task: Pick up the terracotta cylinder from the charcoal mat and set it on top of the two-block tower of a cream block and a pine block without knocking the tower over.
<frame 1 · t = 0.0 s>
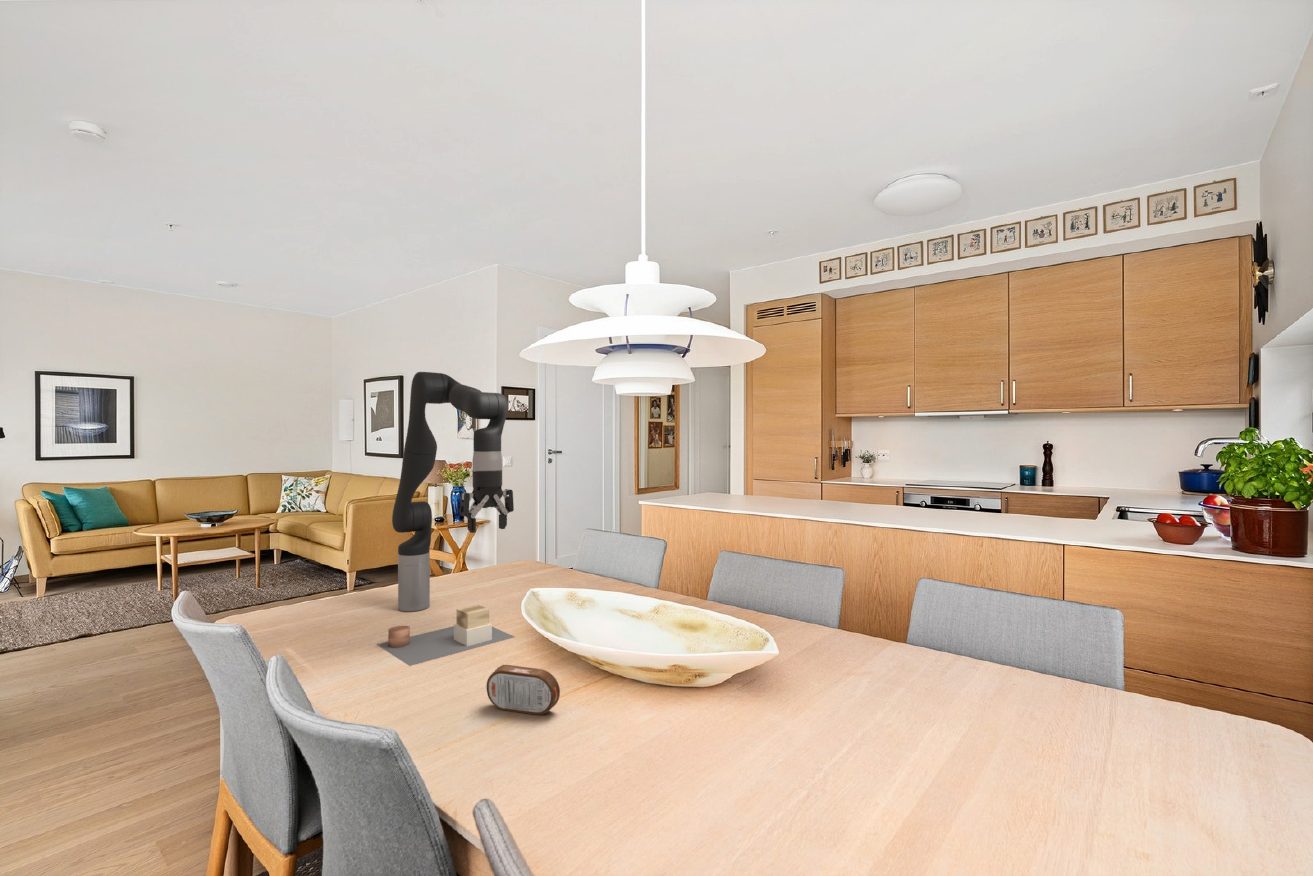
hand: (487, 530, 157), 29 cm above the table, fingers open, 8 cm apart
terracotta cylinder: (399, 644, 153), point 1 cm above the table, touching mat
mat: (447, 644, 155), on the table
tower base block: (472, 639, 156), point 1 cm above the table, touching mat, tower top block
tin: (522, 712, 118), on the table
tower top block: (472, 624, 156), point 5 cm above the table, touching tower base block
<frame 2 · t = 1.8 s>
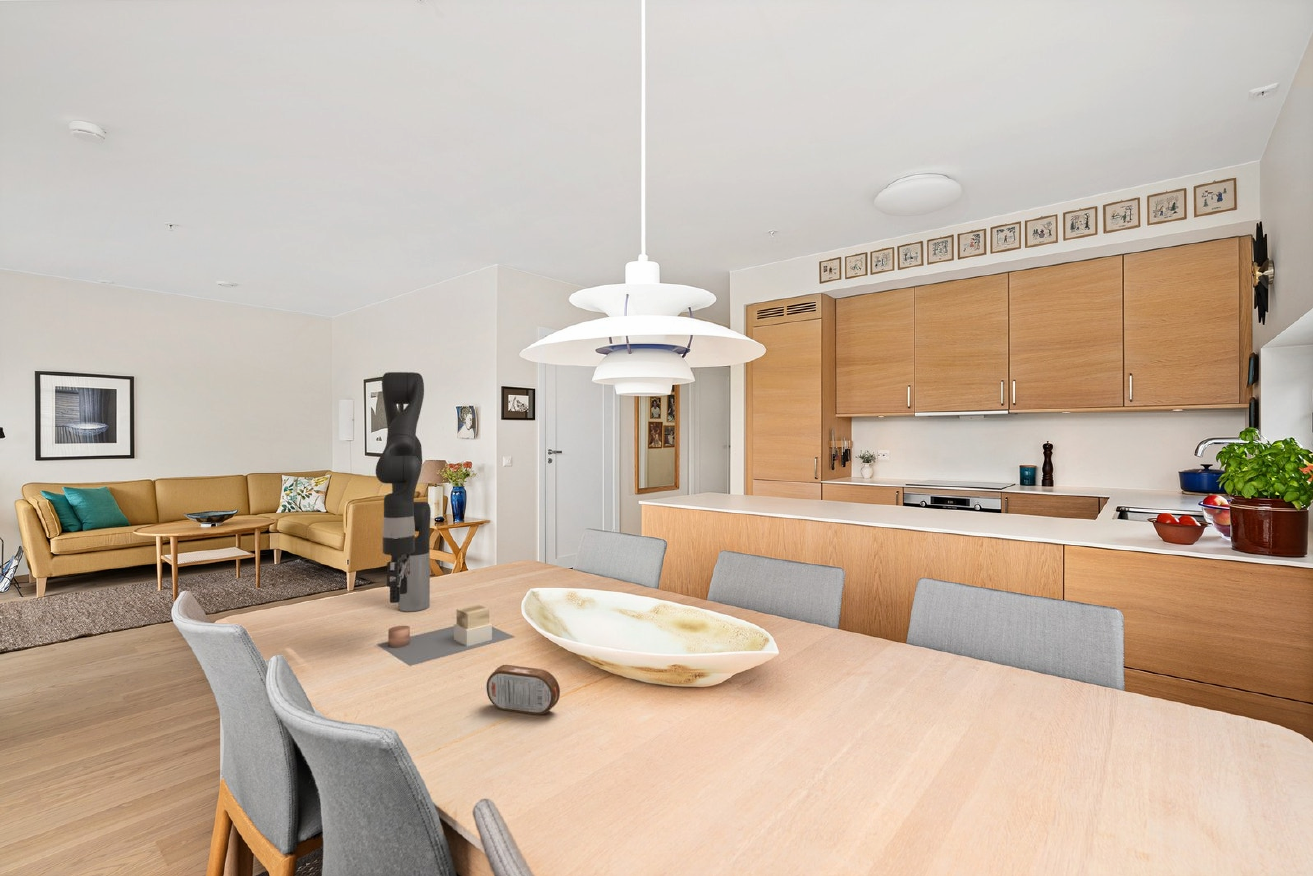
hand: (398, 598, 152), 13 cm above the table, fingers open, 8 cm apart
nothing on the table moved.
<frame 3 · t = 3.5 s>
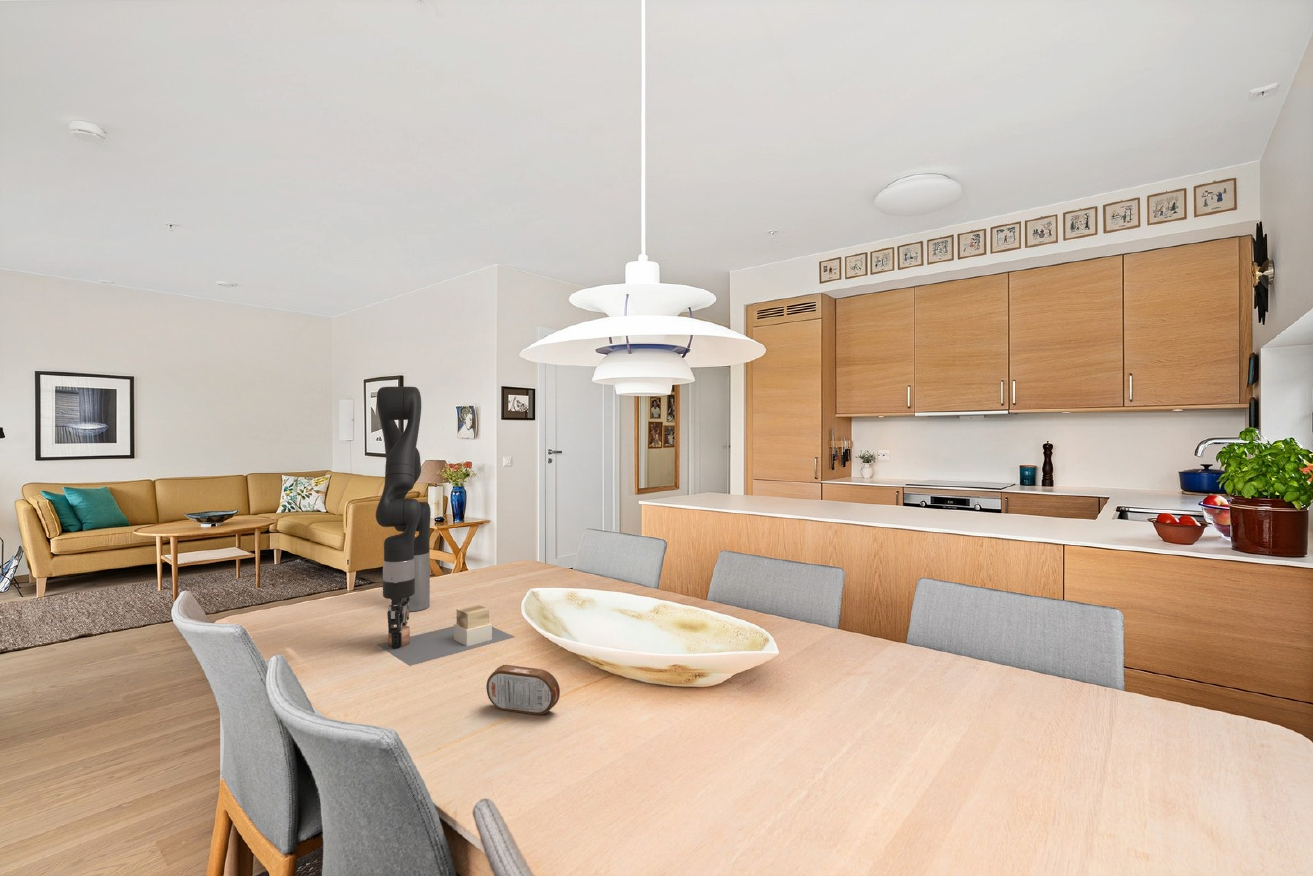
hand: (399, 643, 153), 1 cm above the table, fingers closed on terracotta cylinder, 5 cm apart
terracotta cylinder: (399, 644, 153), point 1 cm above the table, touching gripper, mat
everything else where it was.
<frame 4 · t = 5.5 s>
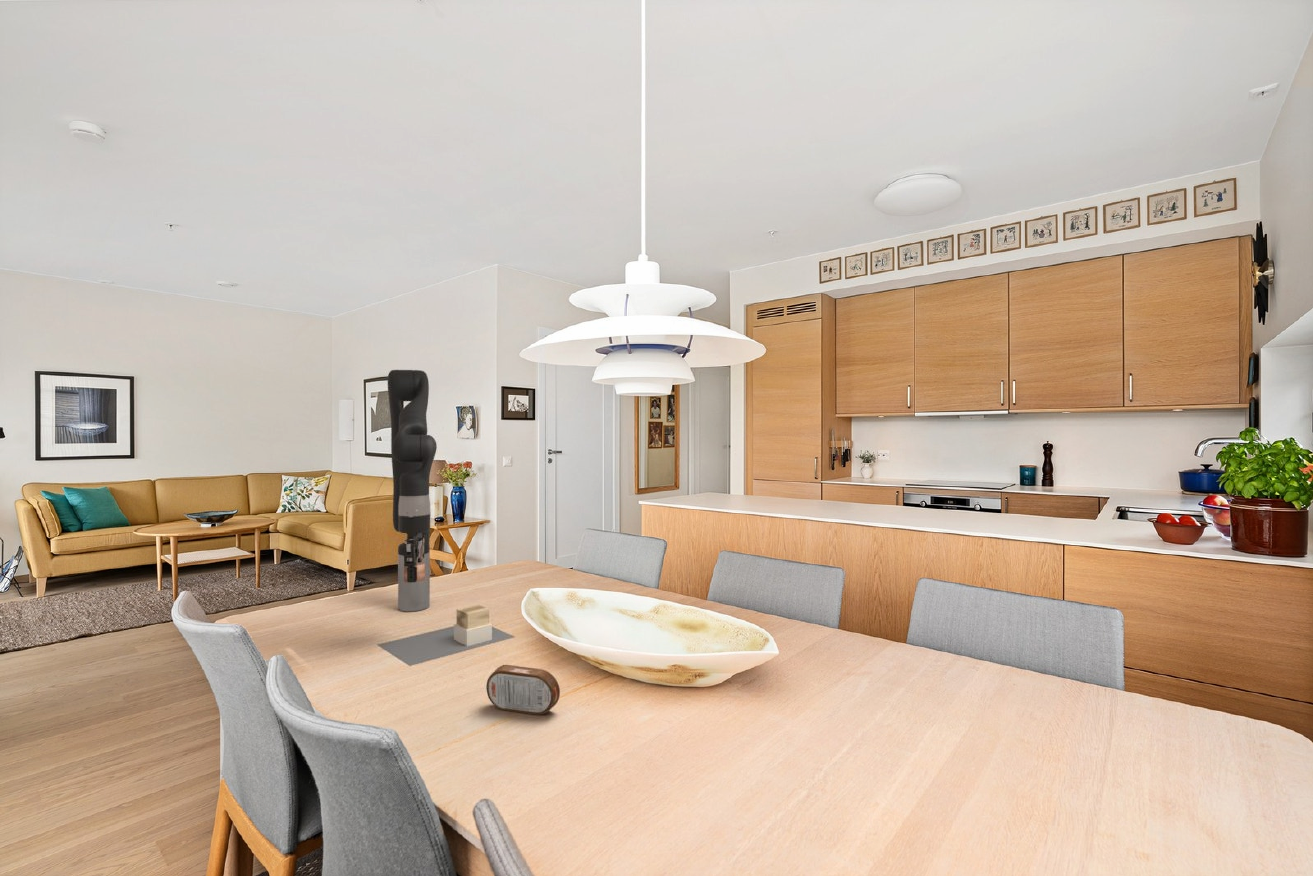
hand: (414, 579, 153), 17 cm above the table, fingers closed on terracotta cylinder, 5 cm apart
terracotta cylinder: (414, 580, 153), point 17 cm above the table, touching gripper
everything else where it was.
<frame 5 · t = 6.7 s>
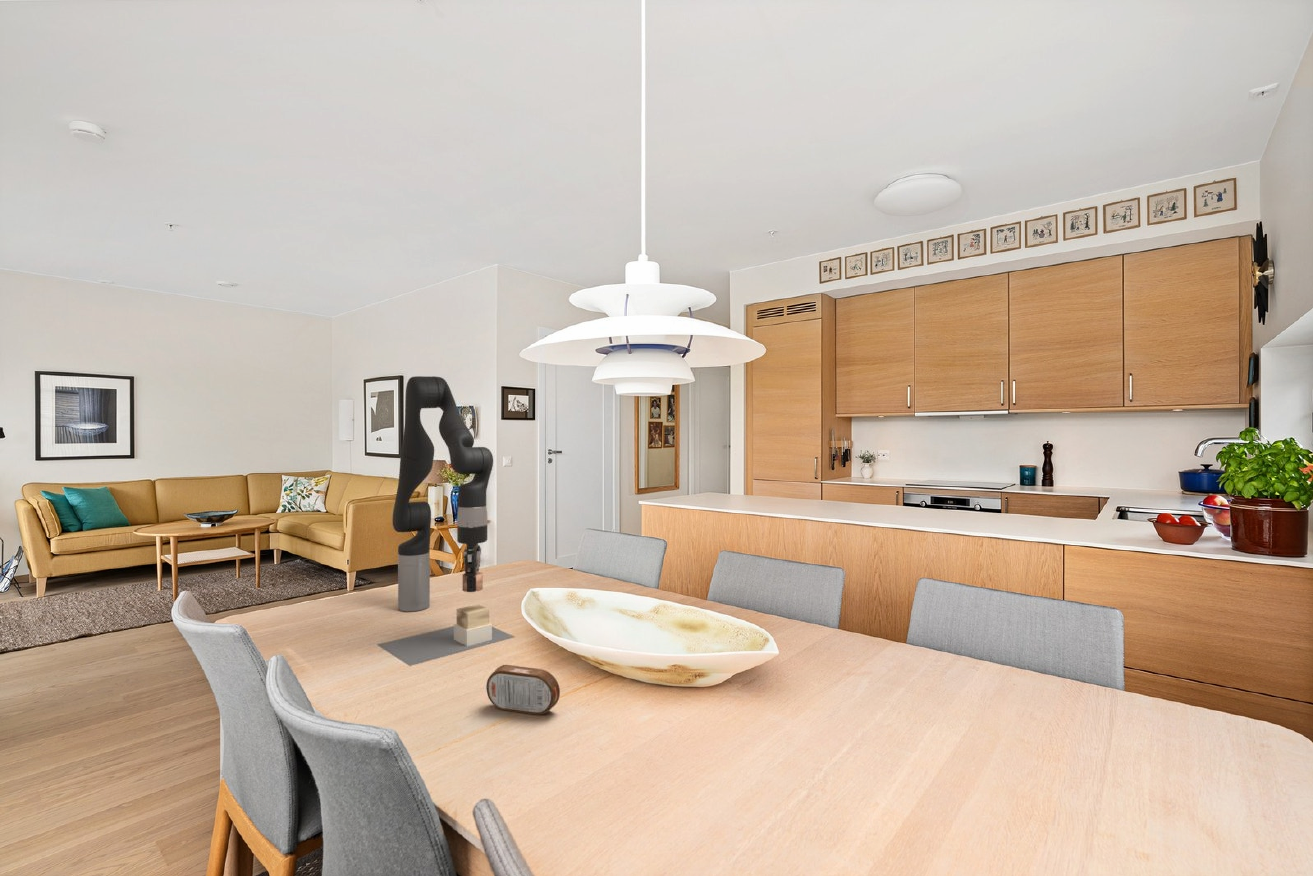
hand: (472, 588, 156), 14 cm above the table, fingers closed on terracotta cylinder, 5 cm apart
terracotta cylinder: (472, 589, 156), point 14 cm above the table, touching gripper
everything else where it was.
when the fingers open (10 cm above the table, at t = 7.8 s): terracotta cylinder stays where it is, resting on tower top block.
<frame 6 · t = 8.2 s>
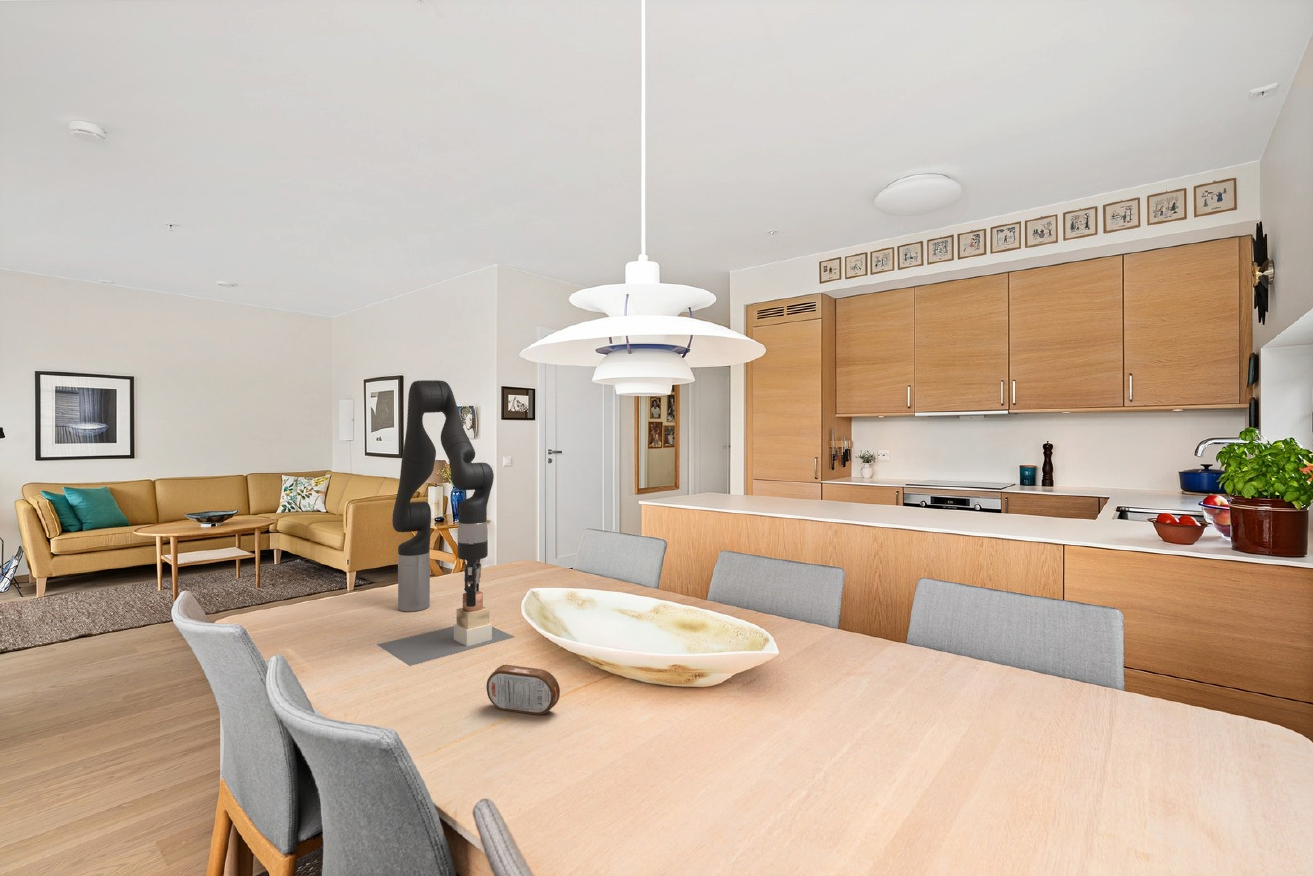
hand: (472, 601, 156), 11 cm above the table, fingers open, 8 cm apart
terracotta cylinder: (472, 609, 156), point 9 cm above the table, touching tower top block
tower top block: (472, 624, 156), point 5 cm above the table, touching terracotta cylinder, tower base block
everything else where it was.
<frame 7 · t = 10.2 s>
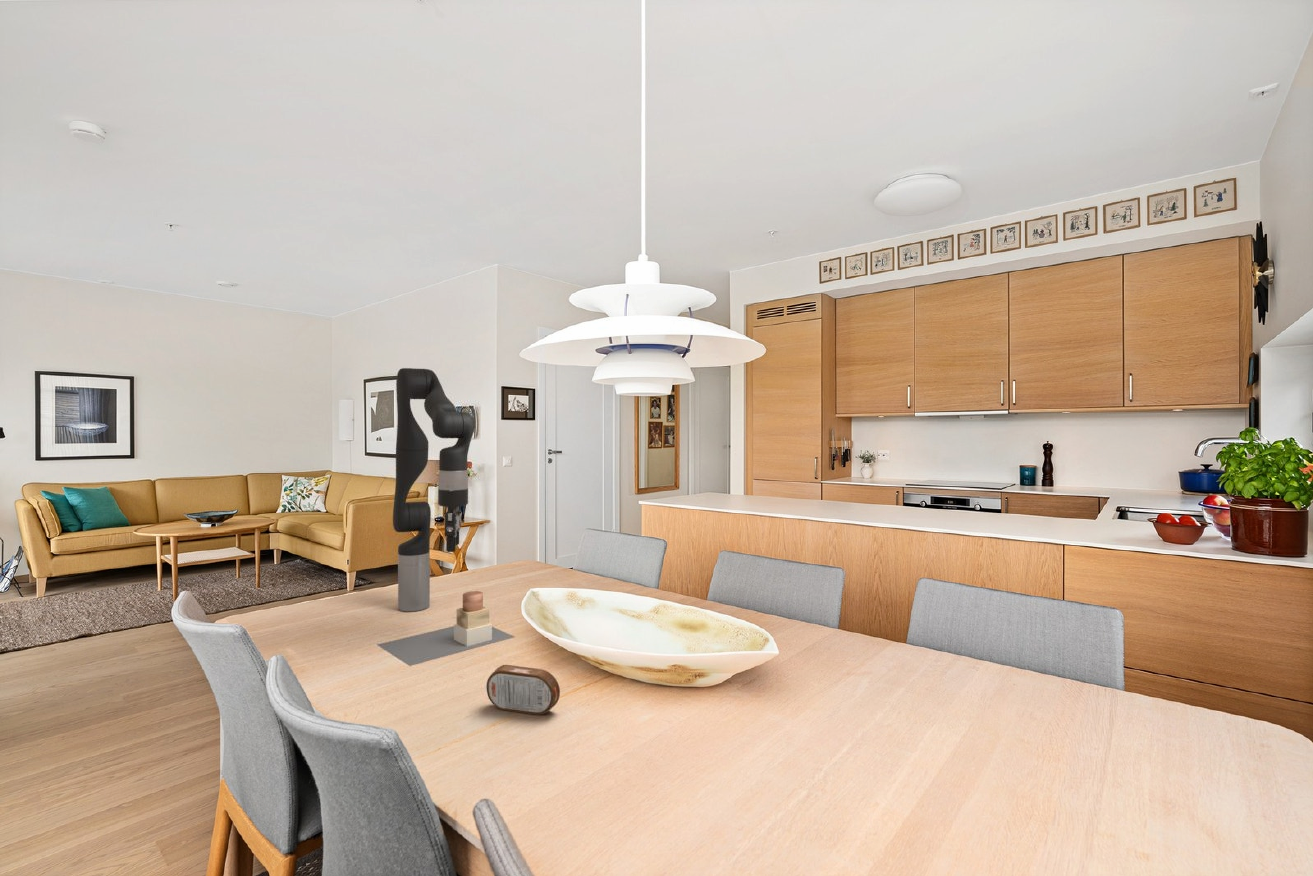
hand: (452, 548, 159), 24 cm above the table, fingers open, 8 cm apart
nothing on the table moved.
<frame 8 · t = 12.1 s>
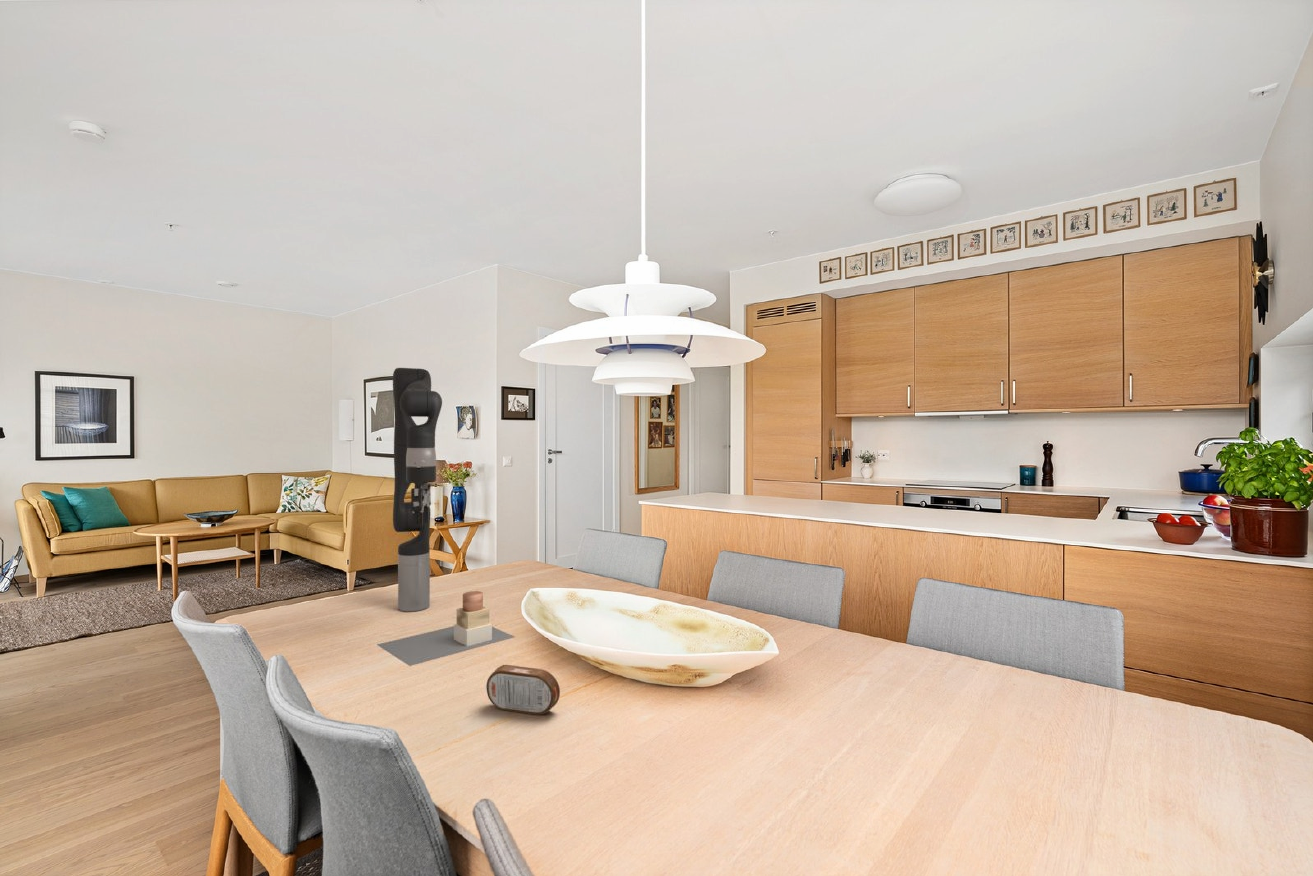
hand: (421, 524, 162), 30 cm above the table, fingers open, 8 cm apart
nothing on the table moved.
at the end: terracotta cylinder 0.1 cm off-centre on the tower top block, point 4.0 cm above the tower top block's base; tower top block moved 0.0 cm from its start; the gripper is holding nothing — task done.
